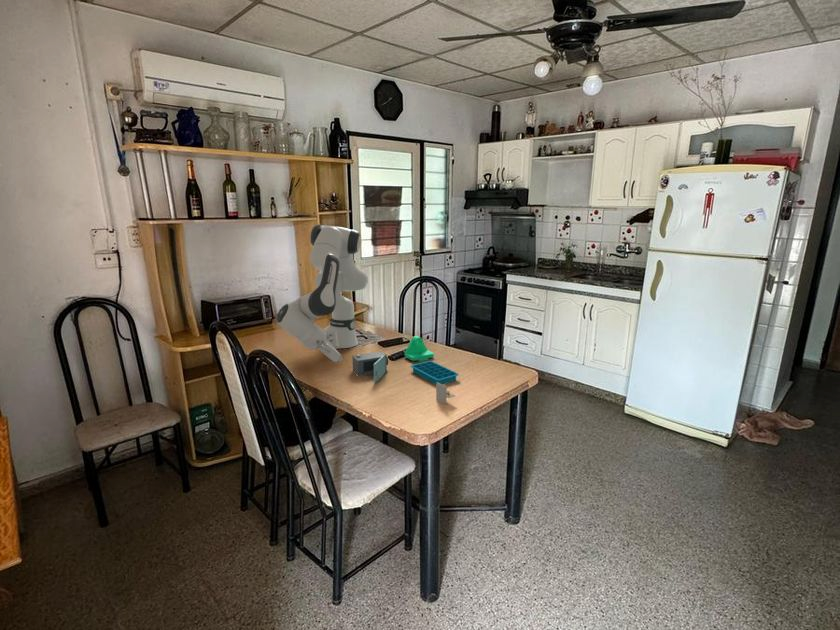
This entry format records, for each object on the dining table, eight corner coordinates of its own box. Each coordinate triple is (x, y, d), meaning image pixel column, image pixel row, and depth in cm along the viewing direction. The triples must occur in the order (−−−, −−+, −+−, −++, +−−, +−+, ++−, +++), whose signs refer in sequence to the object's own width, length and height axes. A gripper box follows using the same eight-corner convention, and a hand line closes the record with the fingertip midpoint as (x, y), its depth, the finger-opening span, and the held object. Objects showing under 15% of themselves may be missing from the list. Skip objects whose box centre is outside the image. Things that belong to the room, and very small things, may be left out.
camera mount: (412, 363, 201) (412, 341, 199) (404, 358, 207) (404, 337, 205) (434, 358, 207) (434, 337, 205) (426, 354, 213) (426, 333, 211)
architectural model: (442, 398, 165) (443, 379, 163) (455, 404, 160) (455, 385, 158) (435, 400, 163) (436, 382, 161) (447, 407, 158) (448, 388, 156)
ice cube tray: (430, 366, 197) (430, 360, 196) (459, 381, 181) (460, 374, 180) (409, 372, 191) (409, 365, 190) (437, 387, 175) (437, 380, 174)
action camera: (384, 365, 197) (383, 349, 195) (390, 370, 191) (390, 354, 189) (352, 370, 191) (352, 354, 189) (358, 376, 184) (357, 359, 183)
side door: (384, 371, 190) (384, 353, 188) (387, 372, 189) (387, 354, 187) (373, 383, 177) (373, 364, 175) (376, 383, 177) (376, 364, 175)
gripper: (327, 339, 156) (354, 360, 162) (313, 325, 173) (338, 345, 180) (315, 352, 155) (343, 374, 161) (303, 337, 173) (328, 357, 179)
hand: (340, 358), depth 171 cm, fingers closed
